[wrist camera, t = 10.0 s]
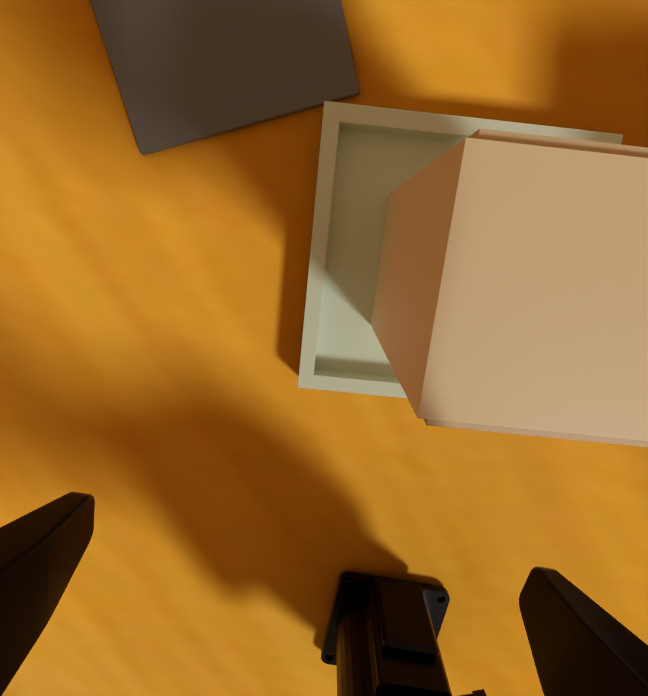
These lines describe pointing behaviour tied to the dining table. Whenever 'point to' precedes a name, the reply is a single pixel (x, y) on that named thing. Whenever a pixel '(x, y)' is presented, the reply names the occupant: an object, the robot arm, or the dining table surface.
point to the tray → (370, 230)
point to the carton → (521, 288)
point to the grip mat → (222, 63)
